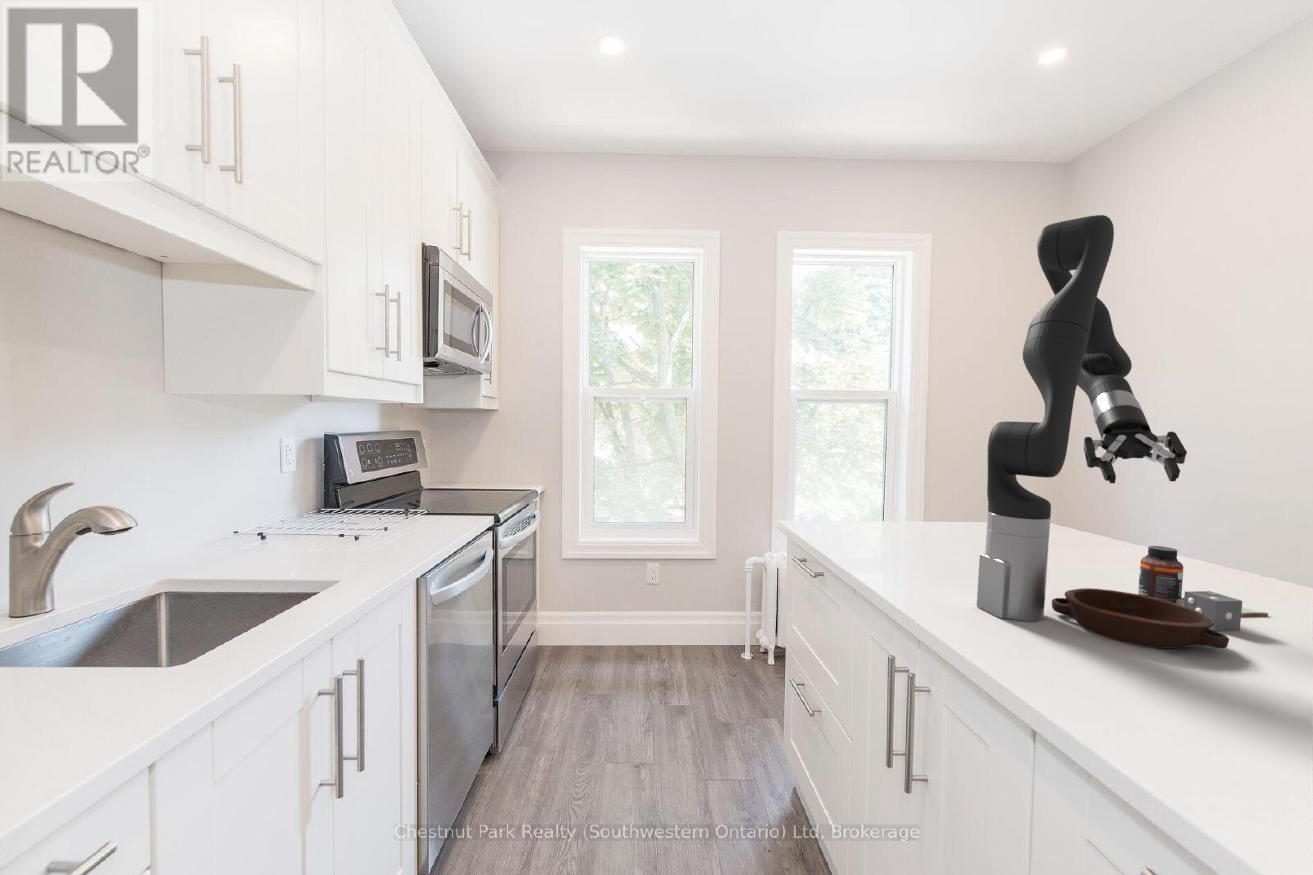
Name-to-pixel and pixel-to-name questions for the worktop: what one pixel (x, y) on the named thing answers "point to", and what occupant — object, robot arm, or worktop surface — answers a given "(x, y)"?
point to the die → (1216, 609)
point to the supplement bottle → (1161, 574)
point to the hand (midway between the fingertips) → (1143, 479)
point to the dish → (1138, 619)
